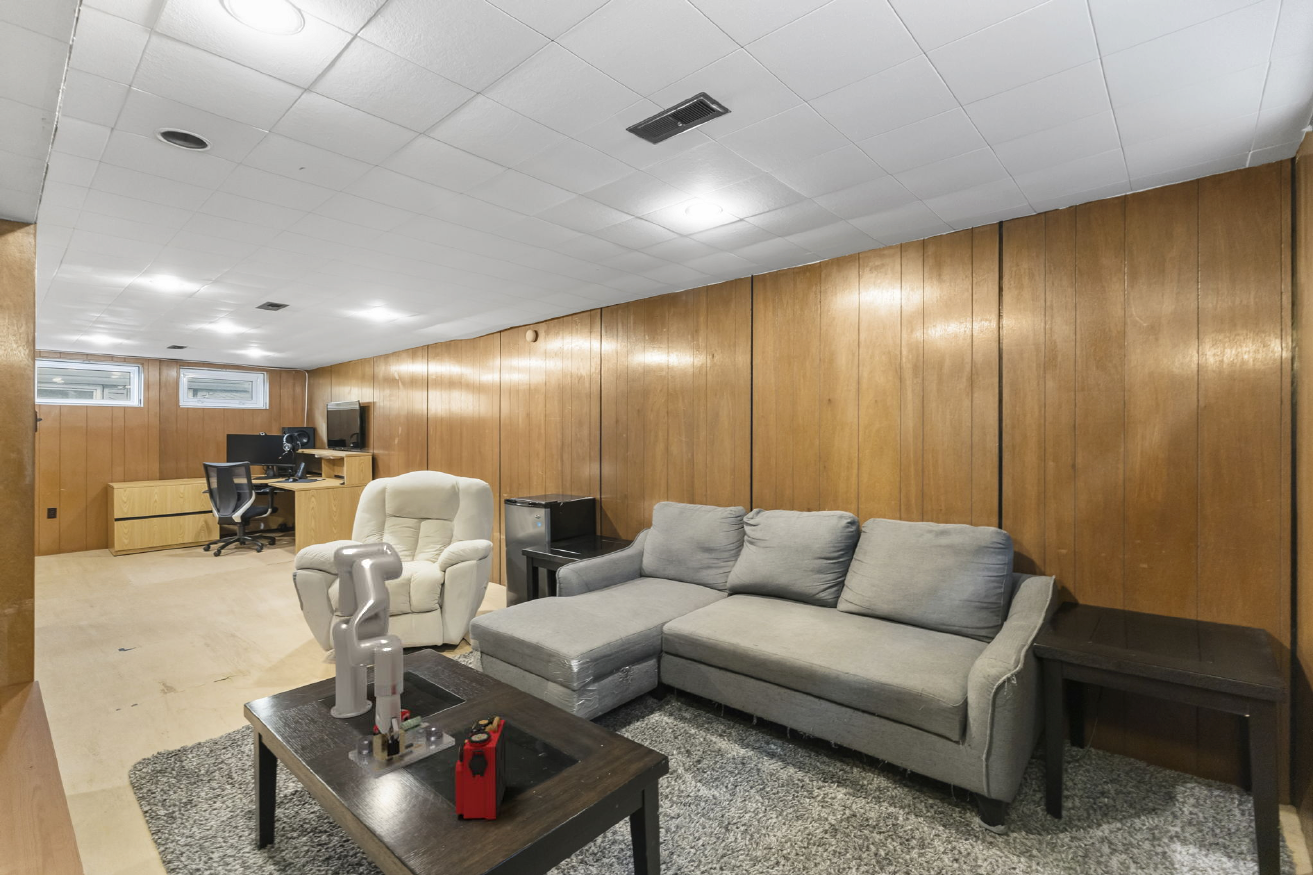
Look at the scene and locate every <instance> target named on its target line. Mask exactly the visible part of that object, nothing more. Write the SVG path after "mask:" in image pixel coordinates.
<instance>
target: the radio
mask: <svg viewBox="0 0 1313 875" xmlns="http://www.w3.org/2000/svg"><path fill="white" fill-rule="evenodd" d="M506 722H507V721H506V720H505V719H501V718H500V717H499V716H496V717H494V718H482V719H478V720H477V722H476V723H475V724H474V725H473V726H472V728H471V730H470V734H469V736H468V737H467V739H465V741H464V742H461V743H460V745H459V749H458V760H457V762H456V764H455V771H454V773H455V781H454V782H455V814H456V815H463V819H466V820H467V819H483V818H484V819H485V820H496V819H497V817H498V815H499V811H500V809H501V805H502V802H503V801H502V800H503V798H504V794H505V790H506V786H507V724H506Z"/></svg>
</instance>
